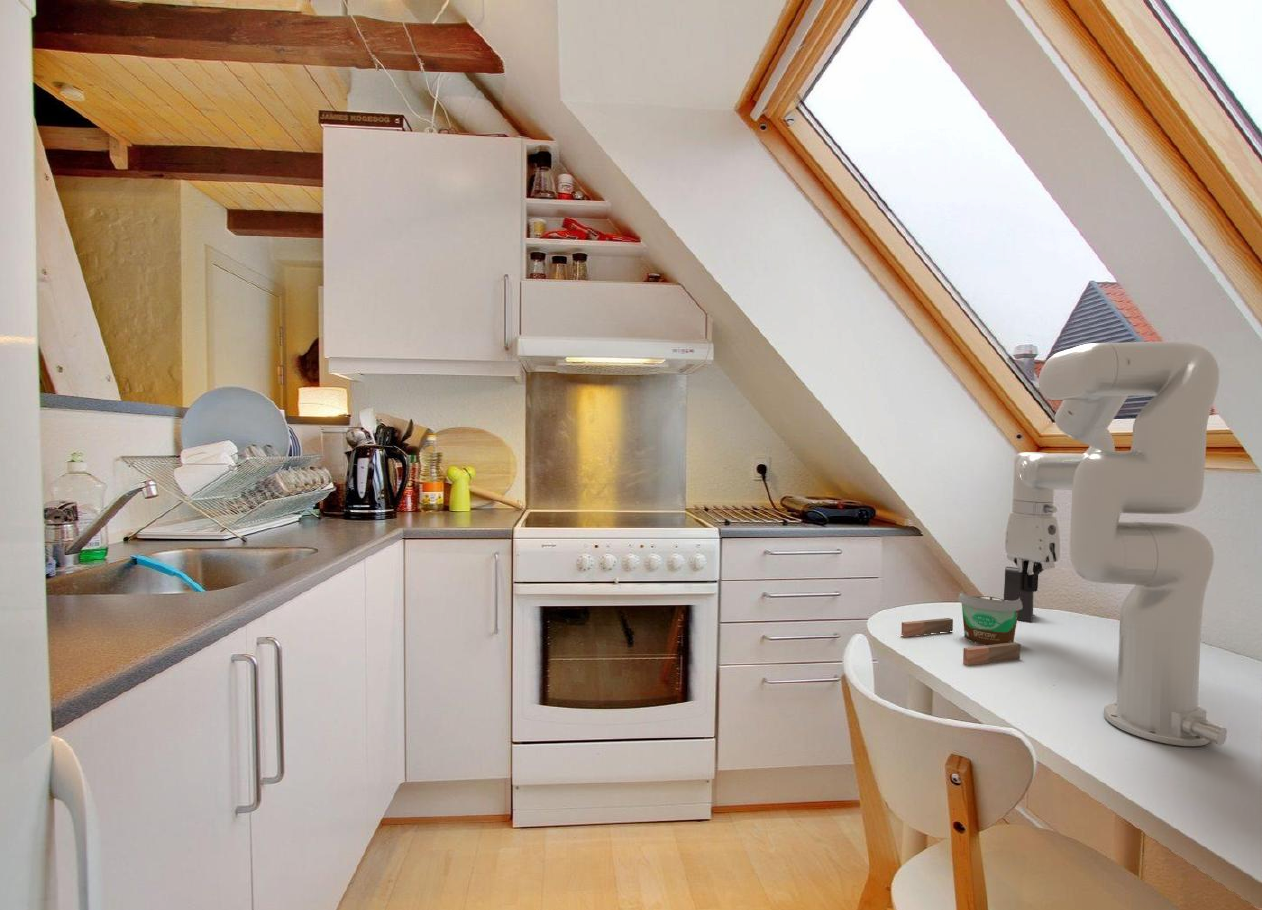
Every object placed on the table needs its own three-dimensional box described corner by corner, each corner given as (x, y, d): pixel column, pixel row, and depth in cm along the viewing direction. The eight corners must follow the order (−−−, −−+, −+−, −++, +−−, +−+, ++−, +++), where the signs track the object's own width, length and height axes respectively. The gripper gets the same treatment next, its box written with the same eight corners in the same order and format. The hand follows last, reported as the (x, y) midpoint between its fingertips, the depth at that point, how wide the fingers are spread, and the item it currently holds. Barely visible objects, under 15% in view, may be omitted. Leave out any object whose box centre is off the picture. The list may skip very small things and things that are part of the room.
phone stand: (1005, 610, 161) (1007, 563, 161) (1033, 614, 158) (1034, 566, 157) (1002, 618, 154) (1003, 569, 153) (1031, 622, 150) (1032, 573, 150)
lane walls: (1019, 658, 126) (1020, 643, 126) (968, 665, 122) (968, 649, 122) (948, 630, 144) (948, 617, 143) (901, 635, 140) (901, 622, 140)
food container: (956, 642, 136) (958, 596, 135) (957, 634, 141) (958, 590, 141) (1023, 652, 130) (1025, 604, 129) (1021, 643, 135) (1022, 597, 135)
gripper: (1078, 512, 132) (1074, 598, 133) (1015, 503, 146) (1012, 581, 147) (1051, 514, 129) (1047, 601, 131) (990, 504, 144) (987, 583, 145)
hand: (1028, 590), depth 139 cm, fingers closed
